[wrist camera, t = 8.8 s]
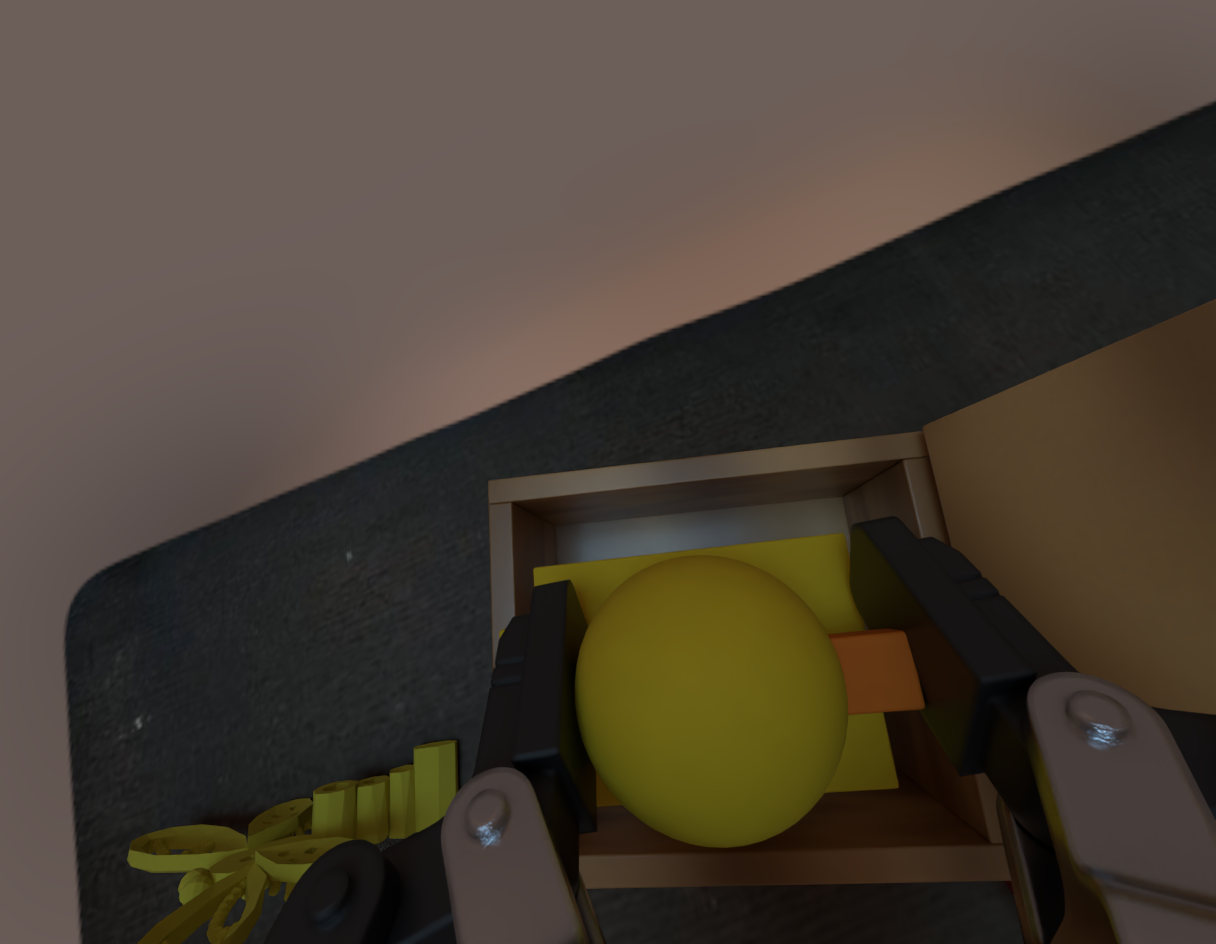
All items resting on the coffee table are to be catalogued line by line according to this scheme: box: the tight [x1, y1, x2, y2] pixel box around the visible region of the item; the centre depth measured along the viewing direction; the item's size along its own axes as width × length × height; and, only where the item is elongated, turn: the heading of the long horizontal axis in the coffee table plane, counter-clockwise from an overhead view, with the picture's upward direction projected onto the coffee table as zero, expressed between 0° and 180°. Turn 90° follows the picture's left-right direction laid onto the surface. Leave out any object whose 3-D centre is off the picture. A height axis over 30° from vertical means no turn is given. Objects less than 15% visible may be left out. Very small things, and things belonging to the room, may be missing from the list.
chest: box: [488, 431, 1011, 889], centre depth 18 cm, size 14×12×7 cm
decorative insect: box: [127, 740, 458, 944], centre depth 19 cm, size 13×3×10 cm
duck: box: [499, 533, 925, 848], centre depth 11 cm, size 8×5×10 cm, turn 96°
